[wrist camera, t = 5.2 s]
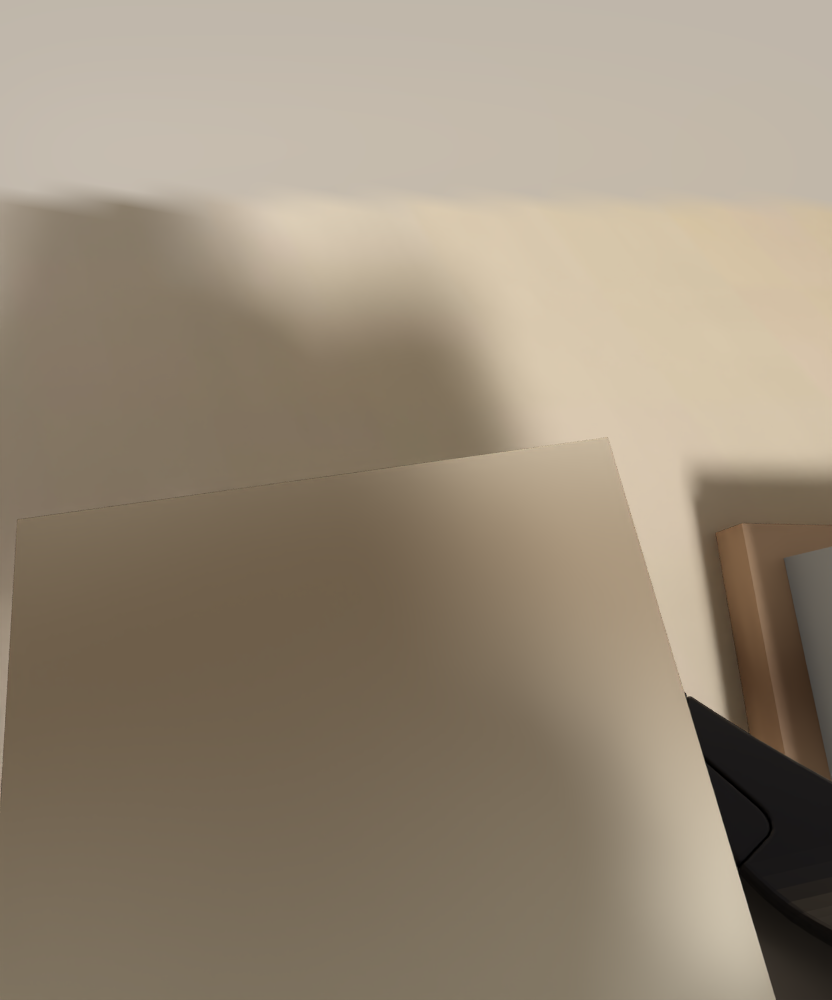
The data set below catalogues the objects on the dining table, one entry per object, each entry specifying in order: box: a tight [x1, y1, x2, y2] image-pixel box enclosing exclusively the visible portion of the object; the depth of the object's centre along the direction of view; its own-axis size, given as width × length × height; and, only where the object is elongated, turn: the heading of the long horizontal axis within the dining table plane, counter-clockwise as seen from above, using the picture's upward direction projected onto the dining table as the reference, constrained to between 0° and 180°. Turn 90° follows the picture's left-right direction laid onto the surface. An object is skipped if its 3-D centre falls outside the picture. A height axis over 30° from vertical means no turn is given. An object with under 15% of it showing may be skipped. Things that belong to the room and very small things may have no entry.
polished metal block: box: [0, 437, 776, 1000], centre depth 9 cm, size 4×4×12 cm
